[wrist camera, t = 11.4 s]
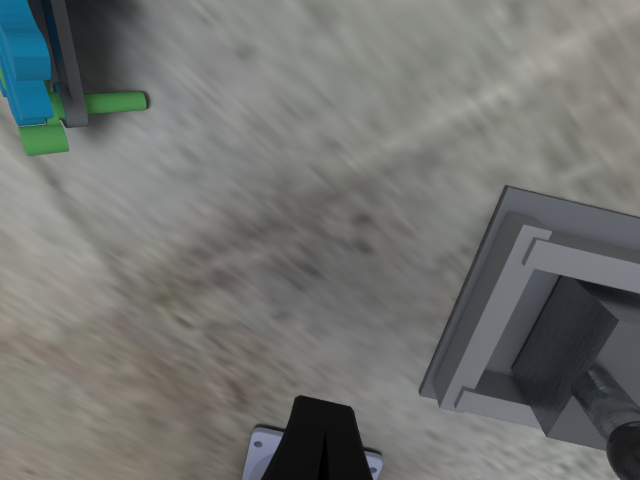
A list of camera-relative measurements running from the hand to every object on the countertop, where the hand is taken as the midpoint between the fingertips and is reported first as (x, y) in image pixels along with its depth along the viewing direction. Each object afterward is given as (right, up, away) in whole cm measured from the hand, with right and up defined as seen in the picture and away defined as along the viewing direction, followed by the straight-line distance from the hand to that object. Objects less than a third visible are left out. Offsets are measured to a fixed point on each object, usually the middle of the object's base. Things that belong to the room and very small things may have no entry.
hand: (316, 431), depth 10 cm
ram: (+12, 0, +10) cm, 16 cm away
